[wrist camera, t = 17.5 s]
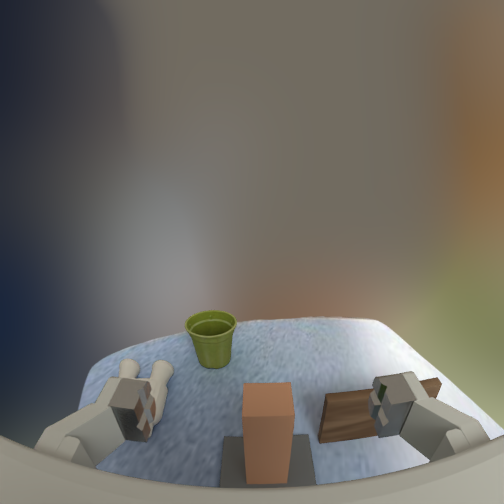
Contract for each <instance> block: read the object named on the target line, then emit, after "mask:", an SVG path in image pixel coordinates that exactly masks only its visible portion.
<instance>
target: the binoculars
mask: <svg viewBox="0 0 504 504" xmlns="http://www.w3.org/2000/svg"><path fill="white" fill-rule="evenodd" d="M119 368H120V370H119V378H128V379H135V380H143V381H148V382H150V385H151V388H152V390H151V392H150V394H151V395H152V396H153V397H154V399H155V403H156V414H155V418H154V421H153V422H152V423H150V424H149V426H150V429H151V431H150V434H149V437H150V436H151V434H152V430H153V426H154V425H156V424H157V423H158V422H159V421H160V420H161V418H162V415H163V410H164V406H165V402H166V397H167V393H168V389H167V387H166V384H167V382H168V381H169V379H170V378H171V377H172V375H173V373H174V368H173V366H172V365H171V364H170V363H169V362H167V361H164V360H158V361H156V362H155V363H154V364H153V366H152V373H151V376H150V379H149V378H138V379H136V377H137V375H138V374H139V373H140V366H139V364H138V363H137V362H136V361H134V360H132V359H124V360H122V361H121V363H120V365H119ZM149 437H148V438H149Z"/></svg>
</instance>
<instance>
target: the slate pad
mask: <svg viewBox="0 0 504 504" xmlns="http://www.w3.org/2000/svg"><path fill="white" fill-rule="evenodd" d="M312 485H316V480H315V473H314V467H313V461H312V454H311V448H310V442H309V436H308V434H307V435H293V437H292V446H291V455H290V463H289V471H288V478H287V483H279V484H247V482H246V468H245V454H244V439H243V437H225V436H224V444H223V455H222V466H221V477H220V488H285V487H300V486H312Z"/></svg>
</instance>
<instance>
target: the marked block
mask: <svg viewBox="0 0 504 504" xmlns="http://www.w3.org/2000/svg"><path fill="white" fill-rule="evenodd" d="M294 419H295V413H294V405H293V397H292V389H291V382H286V383H244V387H243V408H242V423H243V439H244V454H245V468H246V482H247V484H279V483H287V478H288V471H289V463H290V455H291V446H292V437H293V428H294Z"/></svg>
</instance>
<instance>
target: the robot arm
mask: <svg viewBox="0 0 504 504" xmlns="http://www.w3.org/2000/svg"><path fill="white" fill-rule="evenodd" d="M372 386H373V388H374V390H373V391H372V392H371V393H370V395H369V400H368V409H369V413H370V416H371V417H372V418H373V419H375V420H376V421H375V424H374V427H375V429H376V432H377V435H378V437H379V438H383V437H389V436H395V435H399V436H400V437H402V438H403V439H404V440H405V441H407V442H408V443H409V444H410V445H412V446H413V447H414V448H415V449H417V450H418V451H419V452H420V453H422V454H423V455H424V456H425V457H427V458H428V459H429V460H430V461H429V463H426V464H423V465H419V466H416V467H412V468H408V469H404V470H400V471H396V472H392V473H388V474H383V475H378V476H373V477H368V478H363V479H357V480H351V481H344V482H337V483H330V484H321V485H312V486H300V487H285V488H216V487H201V486H190V485H181V484H172V483H165V482H158V481H151V480H145V479H139V478H134V477H129V476H124V475H119V474H114V473H110V472H106V471H102V470H98V469H97V468H96V467H95V466H96V465H97V464H99V463H100V462H101V461H102V460H103V459H105V458H106V457H107V456H108V455H109V454H111V453H112V452H113V451H114V450H115V449H116V448H118V447H119V446H120V445H121V444H122V443H124V442H125V440H131V441H139V442H147V440H148V437H149V434H150V431H151V429H150V426H149V424H150V423H152V422H153V421H154V418H155V414H156V403H155V399H154V397H153V396H152V395H151V394H150V392H151V390H152V388H151V385H150V382H148V381H143V380H135V379H128V378H119V377H110V378H109V379H108V381H107V382H106V384H105V386H104V388H103V389H102V391H101V393H100V395H99V397H98V398H97V400H96V402H95V404H93V403H91V404H89V405H87V406H86V407H84V408H82V409H80V410H78V411H77V412H75V413H73V414H71V415H69V416H68V417H66V418H64V419H62V420H60V421H59V422H57V423H55V424H53V425H51V426H49V427H47V428H46V429H45V431H44V432H43V434H42V436H41V437H40V439H39V441H38V442H37V444H36V446H35V447H34V449H31V448H29V447H26V446H23V445H21V444H19V443H16V442H14V441H12V440H9V439H7V438H5V437H3V436H1V435H0V504H504V435H502V436H499V437H497V438H495V439H493V440H490V438H489V437H488V435H487V434H486V432H485V431H484V429H483V427H482V426H481V424H480V423H479V421H478V420H476V419H474V418H472V417H470V416H468V415H466V414H464V413H462V412H460V411H458V410H456V409H455V408H453V407H451V406H449V405H447V404H445V403H443V402H441V401H439V400H437V399H435V398H433V397H431V398H429V396H428V395H427V393H426V391H425V390H424V388H423V386H422V385H421V383H420V382H419V380H418V378H417V377H416V375H415V374H414V372H412V371H410V372H404V373H400V374H393V375H387V376H380V377H375V379H374V381H373V384H372Z"/></svg>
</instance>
